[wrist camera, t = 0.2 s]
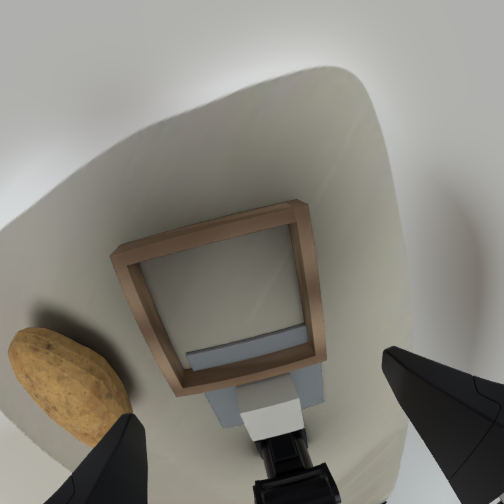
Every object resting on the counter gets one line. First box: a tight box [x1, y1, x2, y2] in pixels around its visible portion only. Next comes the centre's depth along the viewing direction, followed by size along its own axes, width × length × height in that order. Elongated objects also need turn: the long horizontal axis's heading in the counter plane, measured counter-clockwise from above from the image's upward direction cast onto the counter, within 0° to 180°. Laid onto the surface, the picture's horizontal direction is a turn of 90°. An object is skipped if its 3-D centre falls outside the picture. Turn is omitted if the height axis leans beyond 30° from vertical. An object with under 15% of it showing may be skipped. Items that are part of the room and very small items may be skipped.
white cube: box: [236, 372, 304, 441], centre depth 23 cm, size 5×5×5 cm
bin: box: [110, 199, 327, 397], centre depth 22 cm, size 14×14×2 cm
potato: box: [8, 327, 133, 448], centre depth 19 cm, size 10×14×8 cm
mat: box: [186, 323, 324, 428], centre depth 26 cm, size 12×12×1 cm
